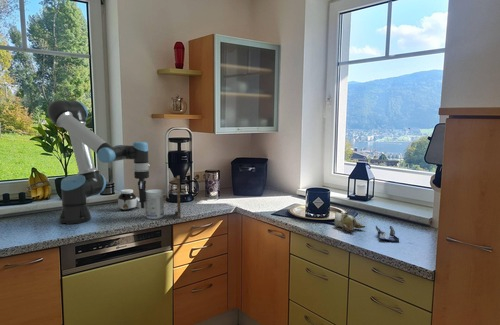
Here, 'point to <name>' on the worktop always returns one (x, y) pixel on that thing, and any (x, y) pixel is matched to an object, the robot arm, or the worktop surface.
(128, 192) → the spread jar
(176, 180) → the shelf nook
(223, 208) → the worktop surface
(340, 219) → the ceramic sculpture
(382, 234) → the twin peaked rock
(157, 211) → the supplement tub
